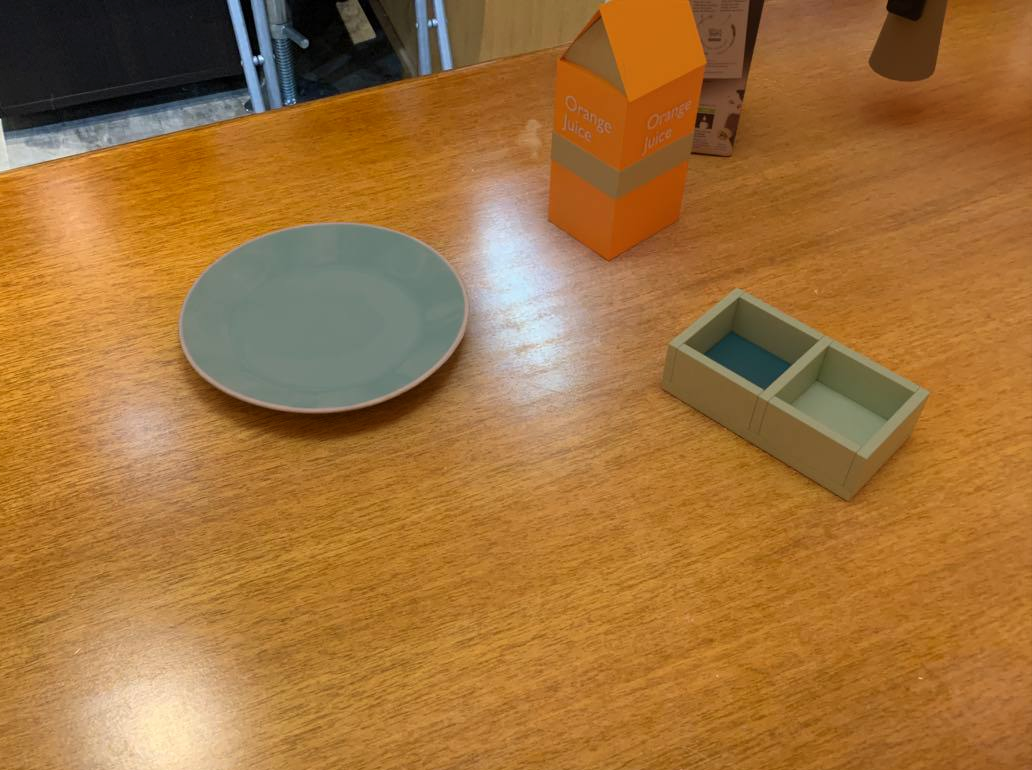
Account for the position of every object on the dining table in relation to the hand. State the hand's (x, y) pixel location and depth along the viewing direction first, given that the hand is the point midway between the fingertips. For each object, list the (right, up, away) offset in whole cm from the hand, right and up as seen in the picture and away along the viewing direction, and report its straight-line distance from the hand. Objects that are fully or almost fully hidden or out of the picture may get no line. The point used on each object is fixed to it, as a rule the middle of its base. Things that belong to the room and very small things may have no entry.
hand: (920, 1), depth 96 cm
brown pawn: (0, -4, +5) cm, 6 cm away
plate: (-51, -32, -11) cm, 61 cm away
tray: (-16, -38, -16) cm, 45 cm away
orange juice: (-28, -20, -2) cm, 34 cm away
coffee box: (-18, -9, +7) cm, 21 cm away
